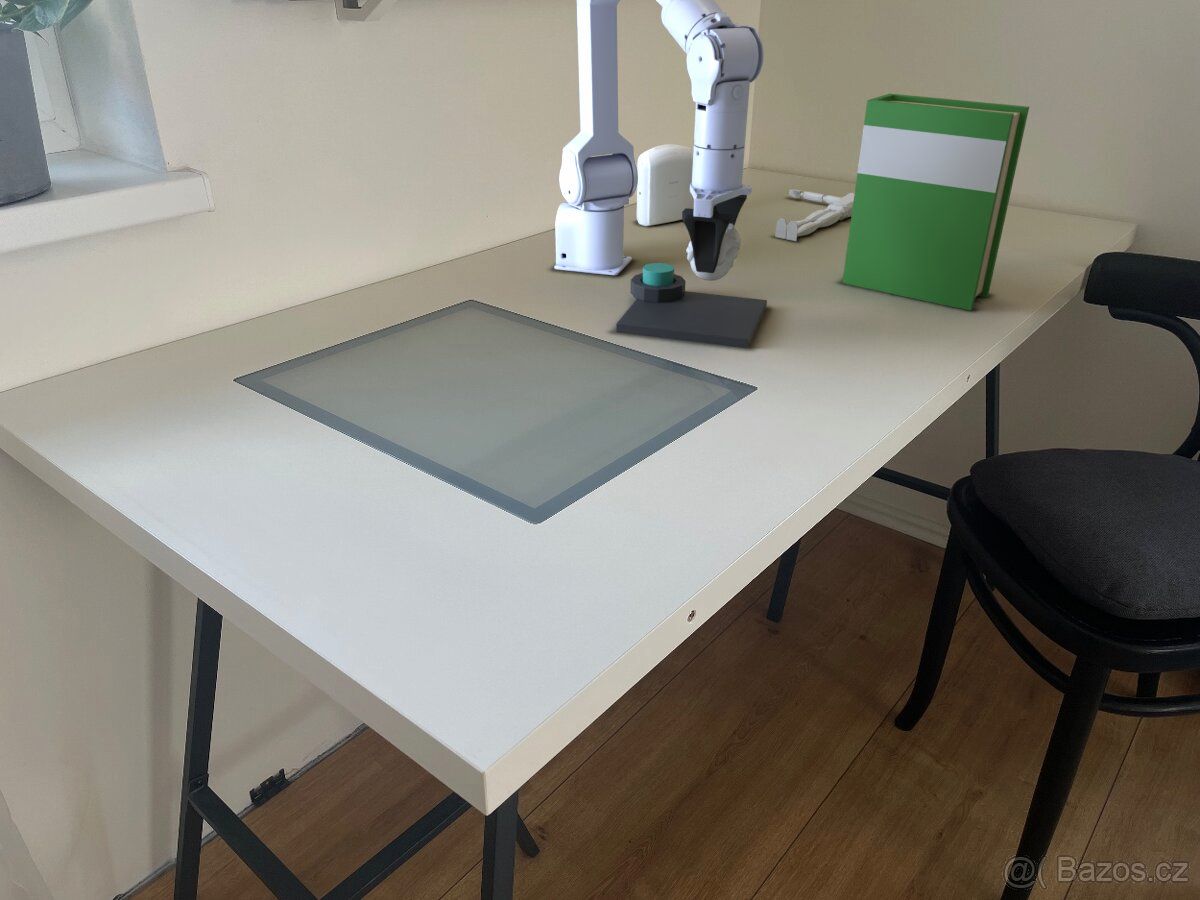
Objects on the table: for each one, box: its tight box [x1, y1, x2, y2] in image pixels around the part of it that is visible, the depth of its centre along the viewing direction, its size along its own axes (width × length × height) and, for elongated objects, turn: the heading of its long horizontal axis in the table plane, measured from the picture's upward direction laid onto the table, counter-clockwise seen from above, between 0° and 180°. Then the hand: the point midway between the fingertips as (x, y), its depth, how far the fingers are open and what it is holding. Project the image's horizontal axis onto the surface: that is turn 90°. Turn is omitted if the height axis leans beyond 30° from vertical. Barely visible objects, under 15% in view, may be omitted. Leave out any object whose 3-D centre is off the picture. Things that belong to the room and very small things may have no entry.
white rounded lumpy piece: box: [685, 224, 742, 282], centre depth 110 cm, size 6×7×7 cm
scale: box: [615, 272, 768, 349], centre depth 116 cm, size 17×16×3 cm
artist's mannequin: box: [775, 189, 855, 242], centre depth 156 cm, size 27×4×30 cm
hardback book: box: [842, 93, 1030, 311], centre depth 120 cm, size 18×7×24 cm, turn 53°
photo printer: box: [636, 143, 694, 227], centre depth 153 cm, size 10×4×12 cm, turn 123°
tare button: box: [642, 262, 675, 286], centre depth 119 cm, size 4×4×2 cm
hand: (711, 262), depth 110 cm, fingers closed on white rounded lumpy piece, 6 cm apart
